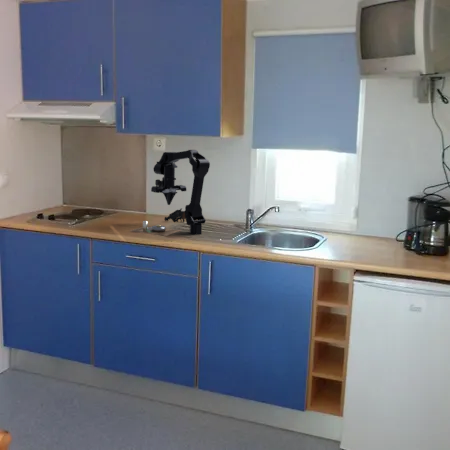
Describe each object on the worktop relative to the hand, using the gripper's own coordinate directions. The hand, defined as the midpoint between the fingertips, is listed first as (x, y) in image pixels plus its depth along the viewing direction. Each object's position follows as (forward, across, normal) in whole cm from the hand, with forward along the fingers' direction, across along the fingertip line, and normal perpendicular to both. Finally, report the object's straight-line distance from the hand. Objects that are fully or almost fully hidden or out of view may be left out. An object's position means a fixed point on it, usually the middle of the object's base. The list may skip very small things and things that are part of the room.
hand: (168, 204), depth 289 cm
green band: (+13, +16, +7) cm, 22 cm away
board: (+13, +12, +7) cm, 19 cm away
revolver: (+13, -14, -10) cm, 22 cm away
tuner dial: (+12, +13, +8) cm, 19 cm away
